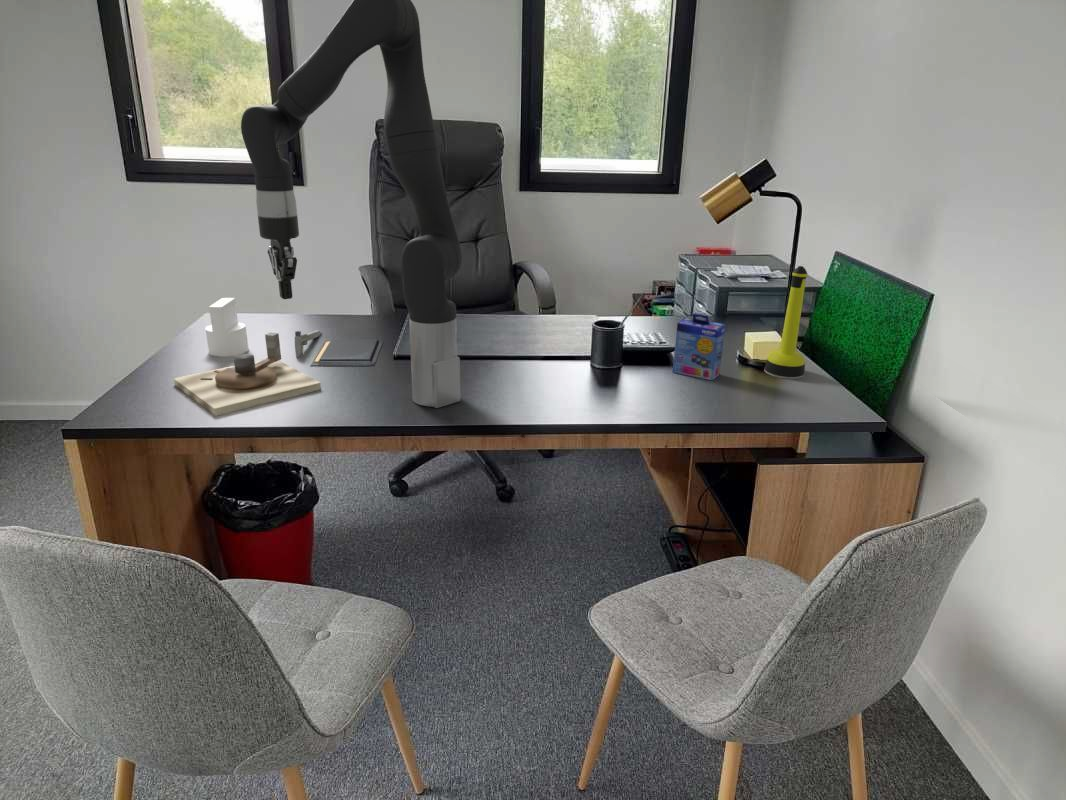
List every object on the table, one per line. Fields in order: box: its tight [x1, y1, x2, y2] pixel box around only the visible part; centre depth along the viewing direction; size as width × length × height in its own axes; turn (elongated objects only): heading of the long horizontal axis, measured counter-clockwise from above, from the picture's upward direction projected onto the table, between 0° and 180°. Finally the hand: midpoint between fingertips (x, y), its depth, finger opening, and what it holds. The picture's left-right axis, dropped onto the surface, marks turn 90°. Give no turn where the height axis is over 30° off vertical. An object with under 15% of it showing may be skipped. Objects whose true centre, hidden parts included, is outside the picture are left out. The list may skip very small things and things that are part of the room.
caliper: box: [294, 329, 322, 358], centre depth 179 cm, size 21×1×6 cm, turn 2°
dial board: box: [173, 358, 322, 417], centre depth 151 cm, size 22×22×2 cm
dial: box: [215, 332, 282, 389], centre depth 152 cm, size 17×12×7 cm
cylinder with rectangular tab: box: [204, 297, 249, 358], centre depth 172 cm, size 9×9×12 cm
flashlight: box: [763, 265, 808, 380], centre depth 164 cm, size 25×9×9 cm
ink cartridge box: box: [672, 313, 726, 381], centre depth 163 cm, size 10×6×14 cm, turn 59°
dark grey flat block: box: [309, 338, 384, 368], centre depth 174 cm, size 20×2×15 cm
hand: (286, 298), depth 150 cm, fingers closed
